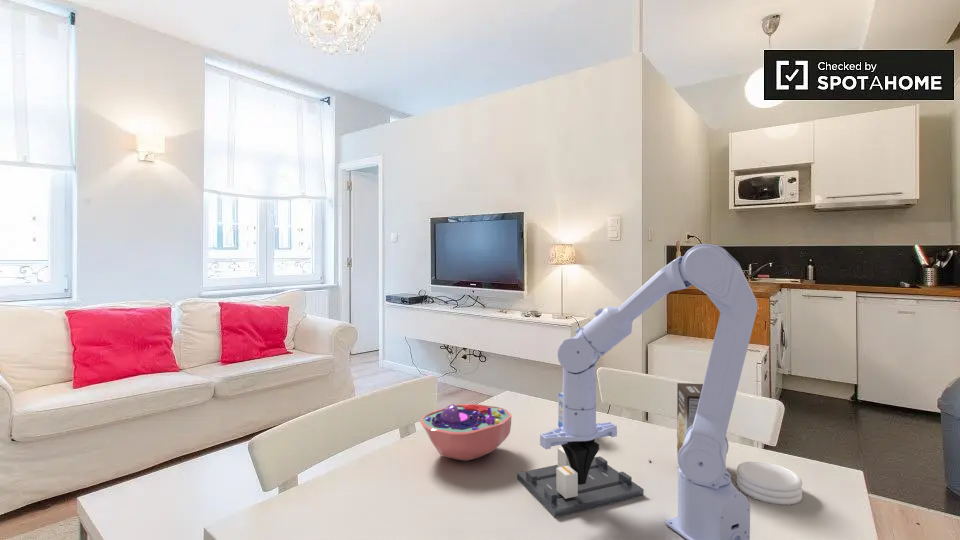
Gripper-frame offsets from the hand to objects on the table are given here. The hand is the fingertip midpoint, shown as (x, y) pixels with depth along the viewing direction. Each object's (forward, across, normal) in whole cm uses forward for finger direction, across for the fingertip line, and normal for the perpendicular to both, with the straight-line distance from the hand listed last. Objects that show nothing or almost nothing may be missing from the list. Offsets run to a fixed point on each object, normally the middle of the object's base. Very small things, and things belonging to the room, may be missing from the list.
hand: (579, 481), depth 80 cm
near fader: (+2, +3, 0) cm, 3 cm away
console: (+3, -2, -4) cm, 5 cm away
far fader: (+2, -2, -7) cm, 7 cm away
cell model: (+3, +12, -24) cm, 27 cm away
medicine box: (+3, -16, -26) cm, 31 cm away
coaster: (+3, -33, +10) cm, 35 cm away
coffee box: (+3, -28, 0) cm, 28 cm away
